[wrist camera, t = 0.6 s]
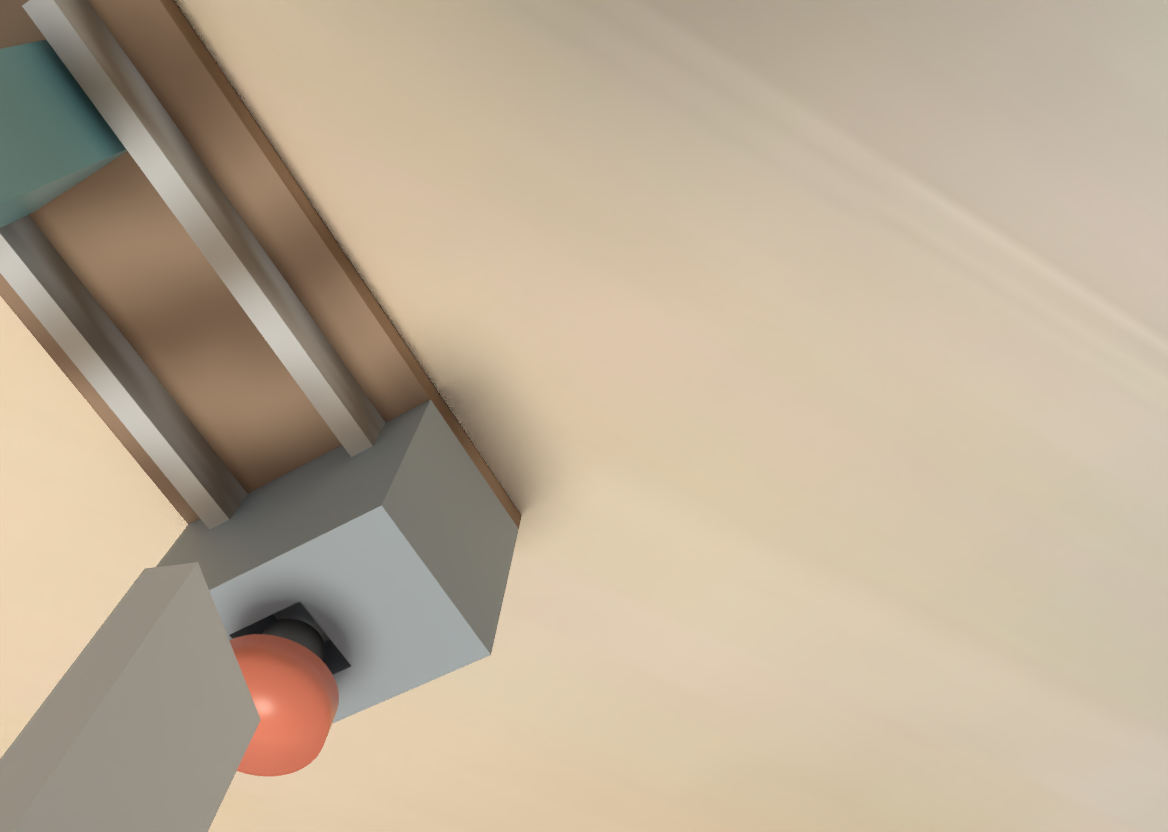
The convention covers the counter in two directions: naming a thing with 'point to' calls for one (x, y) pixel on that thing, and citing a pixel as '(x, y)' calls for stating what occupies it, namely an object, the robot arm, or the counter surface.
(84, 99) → the carriage
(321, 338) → the rail track
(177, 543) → the cabinet
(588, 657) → the counter surface
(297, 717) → the button
